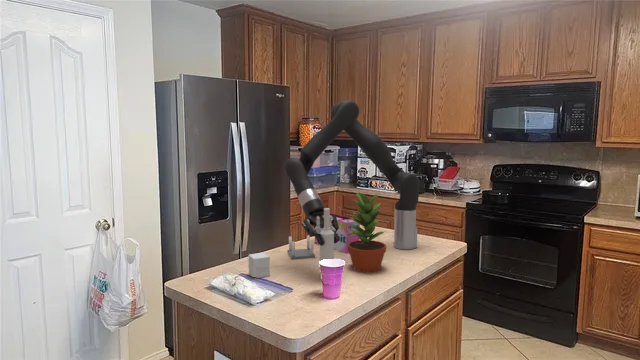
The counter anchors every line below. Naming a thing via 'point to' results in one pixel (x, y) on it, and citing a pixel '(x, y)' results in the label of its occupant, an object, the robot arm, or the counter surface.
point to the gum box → (344, 233)
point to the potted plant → (366, 237)
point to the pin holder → (301, 250)
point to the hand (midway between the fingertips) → (329, 243)
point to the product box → (259, 265)
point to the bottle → (327, 238)
